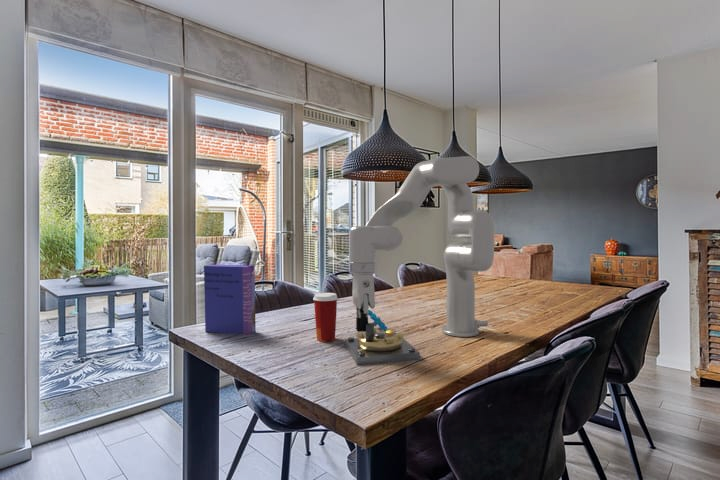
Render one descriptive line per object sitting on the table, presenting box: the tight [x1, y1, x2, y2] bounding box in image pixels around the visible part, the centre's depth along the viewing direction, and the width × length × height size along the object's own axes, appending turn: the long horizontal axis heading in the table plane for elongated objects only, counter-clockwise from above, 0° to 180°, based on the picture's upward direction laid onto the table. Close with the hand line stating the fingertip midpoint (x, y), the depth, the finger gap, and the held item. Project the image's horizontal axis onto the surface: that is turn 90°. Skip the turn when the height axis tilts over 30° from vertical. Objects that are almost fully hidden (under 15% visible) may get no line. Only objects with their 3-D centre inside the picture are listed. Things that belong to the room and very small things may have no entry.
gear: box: [368, 309, 389, 331], centre depth 142 cm, size 11×6×10 cm
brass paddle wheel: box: [356, 322, 404, 351], centre depth 118 cm, size 13×13×7 cm
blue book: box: [203, 264, 257, 336], centre depth 142 cm, size 17×5×24 cm, turn 74°
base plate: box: [344, 337, 421, 365], centre depth 118 cm, size 18×18×3 cm
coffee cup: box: [312, 292, 339, 343], centre depth 131 cm, size 8×8×15 cm
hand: (362, 330), depth 116 cm, fingers closed
